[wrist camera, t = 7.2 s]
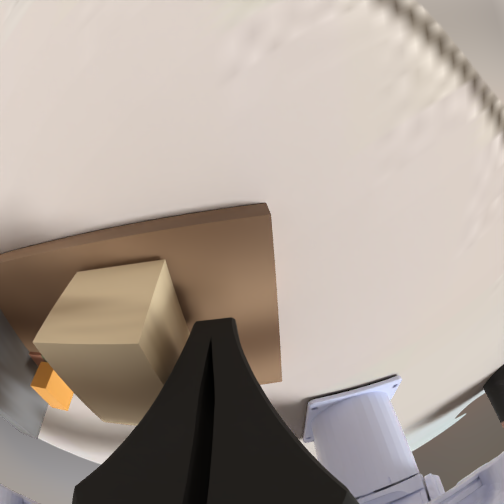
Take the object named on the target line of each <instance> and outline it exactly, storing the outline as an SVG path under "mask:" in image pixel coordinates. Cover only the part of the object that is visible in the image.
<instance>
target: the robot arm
mask: <svg viewBox="0 0 504 504" xmlns="http://www.w3.org/2000/svg"><path fill="white" fill-rule="evenodd" d="M401 381H402V379H401V377H400V376H395V377H393V378H390V379H387V380H384V381H381V382H378V383H374V384H371V385H368V386H365V387H361V388H358V389H354V390H350V391H347V392H343V393H339V394H335V395H331V396H326V397H322V398H318V399H313V400H311V401H309V402H308V407H307V414H306V422H305V429H304V436H303V442H305V443H307V442H312V441H314V445H315V449H316V454H317V458H318V460H317V459H316V458H315V457H314V456H313V455H312V454H311V453H310V452H309V451H308V450H307V449H306V448H305V447H304V445H303V444H302V443H301V442H300V441H299V440H298V438H297V437H296V436H295V435H294V434H293V433H292V431H291V430H290V429H289V428H288V426H287V425H286V424H285V422H284V421H283V420H282V418H281V417H280V416H279V414H278V413H277V411H276V410H275V408H274V407H273V406H272V404H271V403H270V401H269V399H268V398H267V396H266V395H265V393H264V391H263V390H262V388H261V386H260V384H259V383H258V381H257V379H256V377H255V375H254V373H253V371H252V369H251V367H250V365H249V363H248V361H247V359H246V356H245V354H244V352H243V349H242V346H241V343H240V339H239V334H238V329H237V325H236V320H235V319H234V318H232V317H229V318H221V319H212V320H203V321H196V322H195V323H194V325H193V328H192V330H191V332H190V335H189V337H188V339H187V342H186V344H185V346H184V348H183V350H182V352H181V354H180V356H179V358H178V360H177V362H176V364H175V366H174V368H173V370H172V372H171V374H170V376H169V377H168V379H167V381H166V383H165V384H164V386H163V388H162V389H161V391H160V393H159V395H158V396H157V398H156V399H155V401H154V402H153V404H152V405H151V407H150V408H149V410H148V411H147V413H146V414H145V416H144V417H143V418H142V420H141V421H140V422H139V424H138V425H137V426H136V427H135V429H134V430H133V431H132V432H131V434H130V435H129V436H128V437H127V438H126V440H125V441H124V442H123V443H122V444H121V445H120V446H119V447H118V448H117V449H116V450H115V451H114V452H113V453H112V455H111V456H110V457H109V458H108V459H107V460H106V461H105V462H104V463H103V464H101V465H100V466H99V467H98V468H97V469H96V470H95V471H93V472H92V473H91V474H90V475H89V476H87V477H86V478H85V479H84V480H82V481H81V482H80V483H79V484H78V485H76V486H75V489H74V494H73V501H72V504H504V452H502V453H501V454H500V455H499V456H497V457H496V458H494V459H493V460H491V461H490V462H488V463H486V464H484V465H483V466H481V467H479V468H478V469H476V470H475V471H473V472H472V473H471V474H470V475H468V476H466V477H465V478H463V479H462V480H461V481H459V482H458V483H457V485H456V486H455V487H453V488H452V489H450V490H448V491H447V492H445V491H444V488H443V485H442V483H441V480H440V478H439V476H437V475H432V474H431V473H430V474H428V475H426V476H425V477H424V478H425V481H426V484H425V481H424V478H423V475H422V474H418V473H419V470H418V468H417V465H416V462H415V459H414V457H413V454H412V452H411V449H410V447H409V444H408V441H407V439H406V437H405V434H404V432H403V429H402V427H401V424H400V422H399V420H398V417H397V415H396V413H395V410H394V408H393V406H392V403H391V401H390V400H391V398H392V397H393V395H394V393H395V392H396V390H397V388H398V386H399V384H400V383H401ZM417 474H418V475H417ZM415 475H416V476H415ZM413 476H414V477H413ZM426 485H427V487H426ZM0 504H39V503H37V502H35V501H34V500H32V499H30V498H28V497H26V496H23V495H21V494H19V493H17V492H15V491H13V490H11V489H9V488H7V487H6V486H4V485H3V484H1V483H0Z"/></svg>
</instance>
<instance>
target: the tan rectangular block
mask: <svg viewBox="0 0 504 504" xmlns="http://www.w3.org/2000/svg"><path fill="white" fill-rule="evenodd" d="M189 335H190V332H189V329H188V327H187V324H186V321H185V318H184V316H183V313H182V310H181V307H180V304H179V301H178V298H177V295H176V292H175V289H174V286H173V283H172V280H171V277H170V274H169V270H168V267H167V264H166V261H165V259H164V260H157V261H150V262H142V263H135V264H128V265H121V266H114V267H107V268H100V269H93V270H87V271H80V272H77V273H76V274H75V276H74V277H73V279H72V280H71V281H70V283H69V284H68V286H67V287H66V289H65V290H64V292H63V293H62V295H61V296H60V298H59V299H58V301H57V302H56V304H55V305H54V307H53V308H52V310H51V312H50V313H49V315H48V316H47V318H46V320H45V321H44V323H43V325H42V326H41V328H40V330H39V331H38V333H37V335H36V337H35V338H34V340H33V344H34V345H35V346H36V348H37V349H38V350H39V352H40V353H41V354H42V356H43V357H44V358H45V360H46V361H47V362H48V363H49V365H50V366H51V367H52V368H53V370H54V371H55V372H56V373H57V374H58V376H59V377H60V378H61V379H62V380H63V381H64V382H65V384H66V385H67V386H68V387H69V388H70V389H71V390H72V391H73V392H74V393H75V394H76V395H77V397H78V398H79V399H80V400H81V401H82V402H83V403H84V404H85V405H86V406H87V407H88V408H89V409H90V410H91V411H92V412H93V413H95V414H96V415H97V416H98V417H99V418H100V419H101V420H102V421H103V422H108V423H116V424H125V425H136V426H137V425H138V424H139V422H140V421H141V420H142V418H143V417H144V416H145V414H146V413H147V411H148V410H149V408H150V407H151V405H152V404H153V402H154V401H155V399H156V398H157V396H158V395H159V393H160V391H161V389H162V388H163V386H164V384H165V383H166V381H167V379H168V377H169V376H170V374H171V372H172V370H173V368H174V366H175V364H176V362H177V360H178V358H179V356H180V354H181V352H182V350H183V348H184V346H185V344H186V342H187V339H188V337H189Z"/></svg>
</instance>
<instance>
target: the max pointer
mask: <svg viewBox="0 0 504 504" xmlns="http://www.w3.org/2000/svg"><path fill="white" fill-rule="evenodd" d="M30 386H31V387H32V388H33V389H34V390H35V391H36V392H37V393H38V394H39V395H40V396H41V397H42V398H43V399H44V400H45V401H46V402H47V403H48V404H49V405H50V406H51V407H53V408H57V409H62V410H66V411H68V409H69V406H70V402H71V399H72V396H73V393H74V392H73V391H72V390H71V389H70V388H69V387H68V386H67V385H66V384H65V382H64V381H63V380H62V379H61V378H60V377H59V376H58V374H57V373H56V372H55V371H54V370H53V368H52V367H51V366H50V365H49V363H48V362H41V363H40V365H39V367H38V369H37V371H36V374H35V376H34V378H33V380H32V383H31V385H30Z"/></svg>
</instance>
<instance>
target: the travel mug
mask: <svg viewBox="0 0 504 504" xmlns="http://www.w3.org/2000/svg"><path fill="white" fill-rule="evenodd" d="M484 390H485V392H486V394H487V396H488V398H489V400H490V402H491V404H492V406H493V408H494V410H495V411H496V413H497V416H498V418H499V420H500V422H501V424H502V426H503V428H504V365H503V366H502V367H501V368H500V369H499V370H498V371H497V372H496V373H495V374H494V375H493V376H492V377H491V378H490V379H489V380H488V381H487V383H486V384H485V386H484Z"/></svg>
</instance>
